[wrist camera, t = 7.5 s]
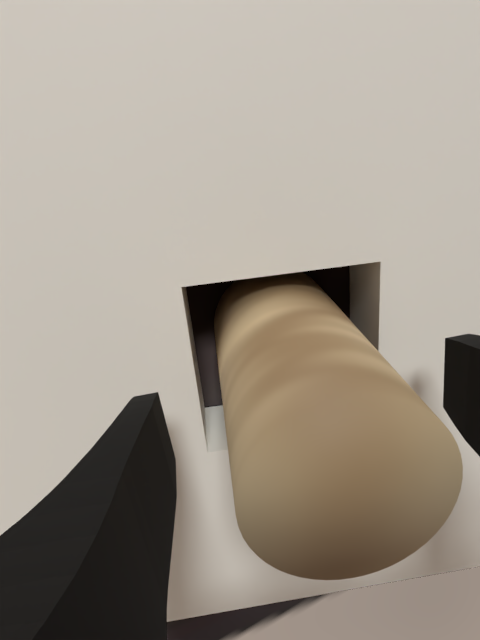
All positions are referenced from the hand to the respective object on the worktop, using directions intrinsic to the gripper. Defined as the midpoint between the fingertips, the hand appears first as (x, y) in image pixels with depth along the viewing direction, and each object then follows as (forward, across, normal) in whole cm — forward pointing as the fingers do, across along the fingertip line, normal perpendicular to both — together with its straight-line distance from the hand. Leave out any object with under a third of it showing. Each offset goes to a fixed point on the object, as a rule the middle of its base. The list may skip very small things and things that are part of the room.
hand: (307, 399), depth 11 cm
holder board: (+4, 0, 0) cm, 5 cm away
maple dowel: (+4, 0, 0) cm, 5 cm away
